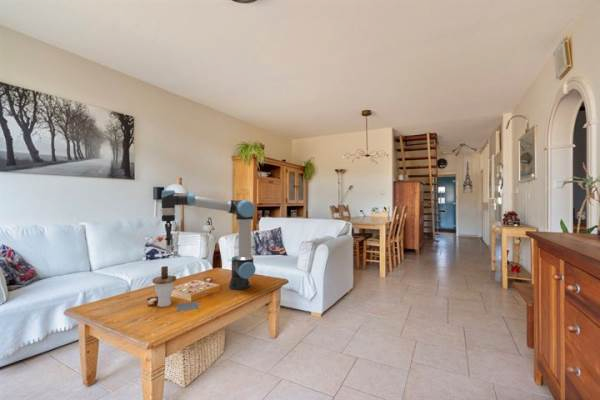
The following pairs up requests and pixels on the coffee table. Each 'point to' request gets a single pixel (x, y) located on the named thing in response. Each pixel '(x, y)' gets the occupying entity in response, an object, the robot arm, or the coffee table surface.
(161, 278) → the lid
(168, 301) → the cup
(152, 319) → the coffee table surface
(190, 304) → the mat
